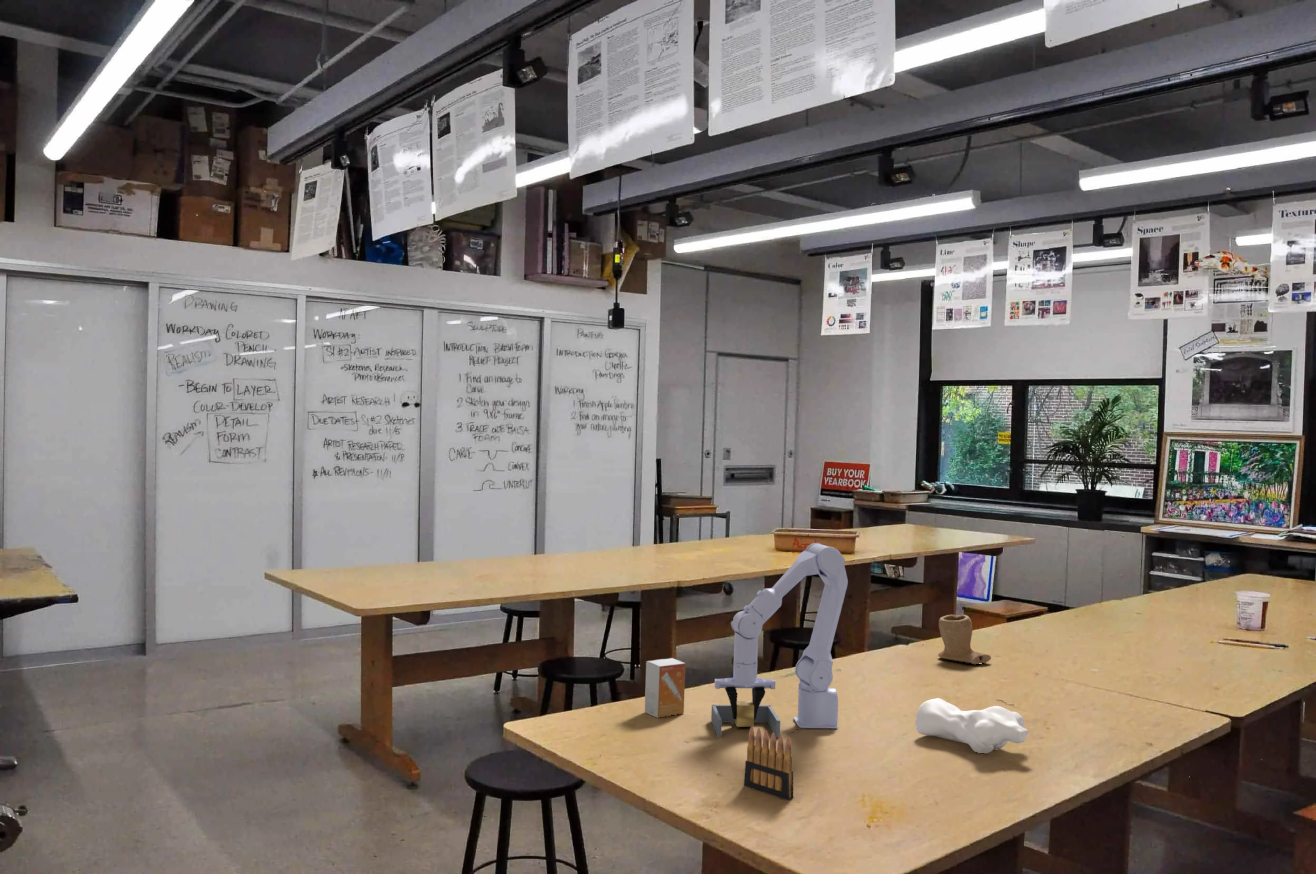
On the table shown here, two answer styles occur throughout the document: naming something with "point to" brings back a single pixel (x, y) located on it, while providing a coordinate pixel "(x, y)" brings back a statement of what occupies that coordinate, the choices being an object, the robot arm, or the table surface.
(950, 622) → the tan textured boot shape
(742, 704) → the block
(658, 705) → the small box
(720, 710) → the u-shaped frame
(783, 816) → the table surface
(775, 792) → the ammunition clip
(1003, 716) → the torso sculpture
